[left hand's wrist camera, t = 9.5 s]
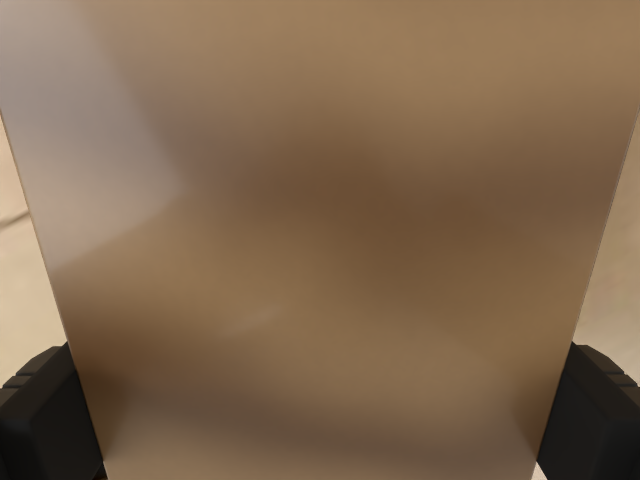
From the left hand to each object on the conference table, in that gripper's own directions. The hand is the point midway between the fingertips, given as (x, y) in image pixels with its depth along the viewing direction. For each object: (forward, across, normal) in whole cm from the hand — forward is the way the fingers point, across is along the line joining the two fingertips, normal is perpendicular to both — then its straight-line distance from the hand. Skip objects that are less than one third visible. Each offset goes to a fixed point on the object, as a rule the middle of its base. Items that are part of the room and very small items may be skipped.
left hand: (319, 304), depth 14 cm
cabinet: (+5, 0, -6) cm, 8 cm away
